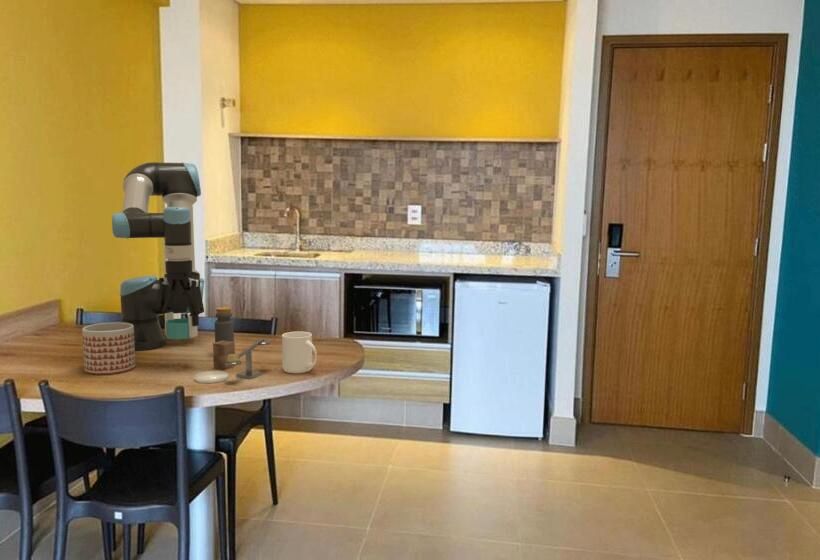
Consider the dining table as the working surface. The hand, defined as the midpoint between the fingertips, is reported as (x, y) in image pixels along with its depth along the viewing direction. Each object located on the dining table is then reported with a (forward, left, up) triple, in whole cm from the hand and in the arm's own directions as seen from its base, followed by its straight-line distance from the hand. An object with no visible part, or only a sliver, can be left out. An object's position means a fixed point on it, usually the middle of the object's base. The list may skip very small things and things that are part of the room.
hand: (181, 335), depth 197 cm
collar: (0, 0, 0) cm, 0 cm away
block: (+12, +5, -10) cm, 16 cm away
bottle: (+1, +18, -10) cm, 20 cm away
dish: (+17, -7, -9) cm, 20 cm away
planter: (-17, -12, -10) cm, 22 cm away
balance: (+24, 0, -9) cm, 26 cm away
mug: (+35, +11, -10) cm, 38 cm away
